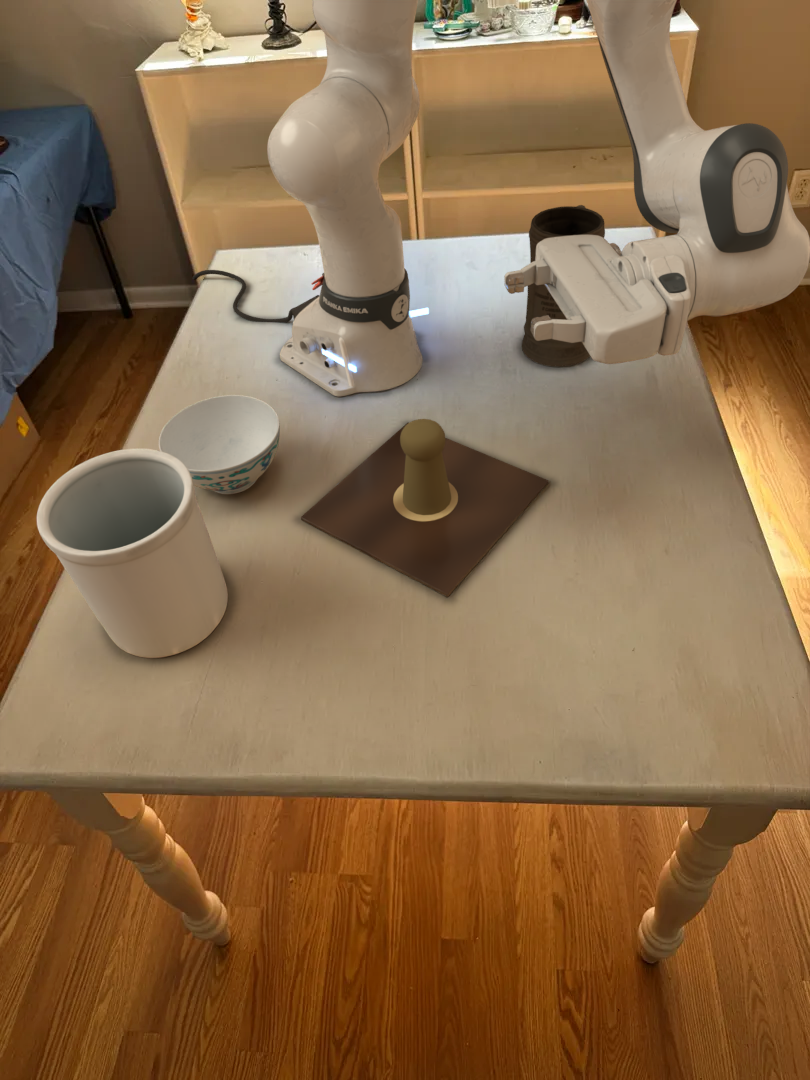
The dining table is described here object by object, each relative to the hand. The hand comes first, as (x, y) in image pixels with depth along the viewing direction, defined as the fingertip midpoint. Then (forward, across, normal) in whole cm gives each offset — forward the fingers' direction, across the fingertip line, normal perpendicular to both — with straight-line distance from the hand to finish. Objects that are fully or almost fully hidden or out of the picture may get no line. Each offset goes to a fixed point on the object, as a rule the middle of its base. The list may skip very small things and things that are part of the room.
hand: (518, 305), depth 80 cm
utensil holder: (+43, +10, +25) cm, 50 cm away
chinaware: (+34, -11, +25) cm, 44 cm away
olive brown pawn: (+11, 0, +24) cm, 27 cm away
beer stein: (-16, -30, +25) cm, 42 cm away
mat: (+11, 0, +25) cm, 27 cm away
